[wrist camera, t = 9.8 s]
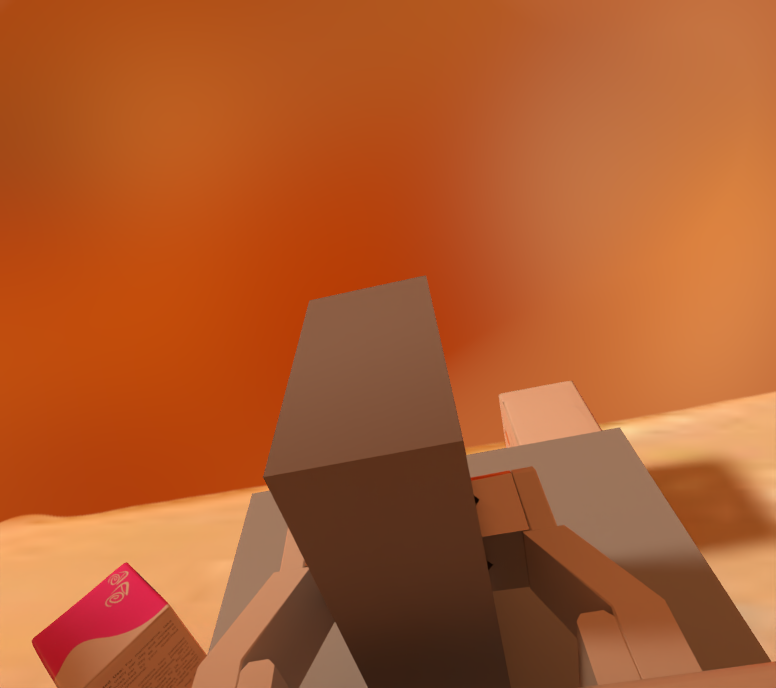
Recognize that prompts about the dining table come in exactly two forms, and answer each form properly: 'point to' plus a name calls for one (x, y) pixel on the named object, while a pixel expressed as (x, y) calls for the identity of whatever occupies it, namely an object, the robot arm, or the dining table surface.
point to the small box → (545, 414)
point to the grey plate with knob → (443, 517)
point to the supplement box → (120, 639)
